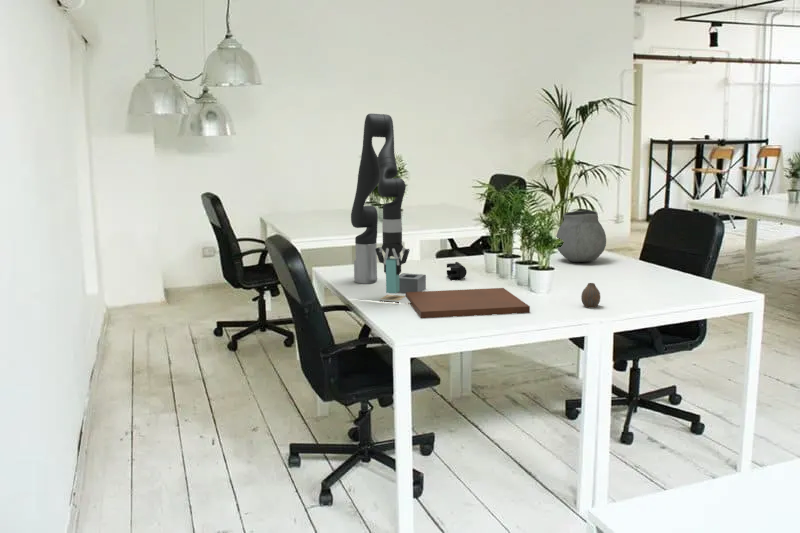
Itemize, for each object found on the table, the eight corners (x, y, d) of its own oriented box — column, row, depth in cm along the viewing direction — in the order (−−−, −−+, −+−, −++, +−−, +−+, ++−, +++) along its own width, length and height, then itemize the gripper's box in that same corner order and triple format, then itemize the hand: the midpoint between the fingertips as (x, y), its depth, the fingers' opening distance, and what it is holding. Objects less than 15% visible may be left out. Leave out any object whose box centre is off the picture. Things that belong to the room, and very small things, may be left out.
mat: (379, 301, 293) (379, 298, 293) (387, 297, 300) (387, 294, 300) (398, 302, 290) (398, 300, 290) (406, 298, 297) (406, 296, 297)
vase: (588, 303, 286) (589, 280, 285) (603, 306, 281) (604, 283, 279) (577, 306, 282) (578, 283, 281) (592, 309, 277) (593, 286, 275)
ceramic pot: (552, 257, 387) (554, 208, 382) (601, 257, 384) (603, 209, 380) (557, 266, 363) (559, 214, 358) (609, 266, 361) (611, 214, 356)
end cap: (466, 280, 332) (466, 265, 330) (450, 281, 331) (450, 265, 330) (461, 276, 341) (461, 261, 340) (446, 276, 341) (446, 261, 339)
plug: (386, 292, 293) (385, 259, 291) (390, 290, 297) (389, 258, 295) (395, 293, 292) (395, 260, 290) (399, 291, 296) (399, 258, 293)
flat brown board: (529, 314, 273) (503, 295, 305) (529, 306, 272) (503, 287, 304) (421, 320, 267) (405, 299, 299) (420, 311, 266) (405, 292, 298)
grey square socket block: (394, 294, 304) (394, 277, 303) (403, 289, 314) (403, 273, 312) (417, 296, 301) (417, 279, 300) (425, 291, 310) (425, 274, 309)
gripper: (371, 230, 289) (372, 274, 292) (406, 232, 284) (406, 277, 287) (378, 228, 296) (379, 271, 299) (412, 229, 291) (413, 273, 294)
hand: (392, 273), depth 293 cm, fingers closed on plug, 4 cm apart
